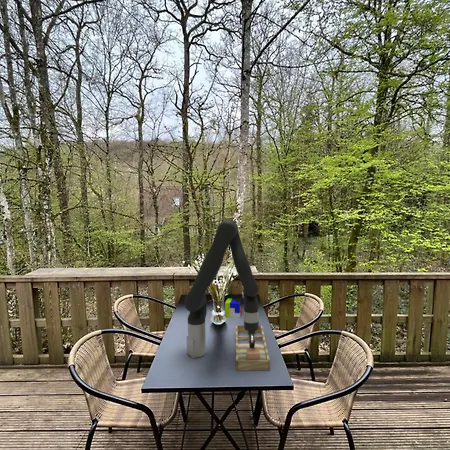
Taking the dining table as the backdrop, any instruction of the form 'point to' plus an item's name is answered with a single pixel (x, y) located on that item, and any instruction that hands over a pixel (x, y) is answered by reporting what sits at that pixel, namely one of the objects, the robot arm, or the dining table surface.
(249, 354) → the block
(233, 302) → the puzzle toy
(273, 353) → the dining table surface
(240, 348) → the trap lane
